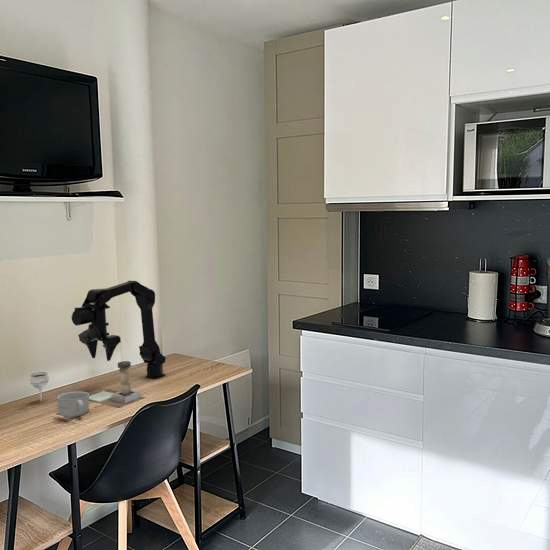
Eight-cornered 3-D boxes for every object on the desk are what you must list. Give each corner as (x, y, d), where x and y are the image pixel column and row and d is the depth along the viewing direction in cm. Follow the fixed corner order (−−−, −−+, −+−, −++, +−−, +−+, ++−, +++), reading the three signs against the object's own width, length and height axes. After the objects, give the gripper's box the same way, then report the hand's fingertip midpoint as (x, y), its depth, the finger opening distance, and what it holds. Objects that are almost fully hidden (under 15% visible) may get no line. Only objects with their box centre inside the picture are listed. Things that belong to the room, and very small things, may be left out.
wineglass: (33, 409, 207) (30, 378, 206) (30, 404, 213) (27, 374, 212) (52, 405, 211) (50, 374, 210) (48, 400, 217) (46, 371, 215)
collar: (127, 394, 216) (127, 388, 216) (141, 398, 212) (140, 391, 211) (111, 400, 210) (111, 394, 209) (125, 404, 205) (124, 397, 205)
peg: (127, 396, 214) (124, 360, 212) (135, 398, 211) (133, 362, 210) (117, 400, 210) (114, 363, 208) (125, 402, 207) (123, 365, 206)
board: (108, 392, 224) (108, 389, 224) (145, 400, 212) (145, 397, 212) (81, 401, 214) (81, 398, 214) (118, 411, 201) (118, 408, 201)
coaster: (103, 392, 221) (103, 391, 221) (118, 395, 216) (118, 394, 215) (84, 398, 213) (84, 397, 213) (99, 402, 208) (99, 401, 208)
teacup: (57, 414, 200) (55, 393, 200) (88, 408, 205) (86, 388, 204) (61, 427, 188) (59, 404, 187) (94, 420, 193) (92, 398, 192)
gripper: (66, 322, 217) (69, 361, 218) (96, 326, 206) (99, 367, 208) (90, 318, 226) (92, 355, 227) (120, 321, 215) (122, 360, 217)
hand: (101, 359), depth 220 cm, fingers open, 9 cm apart
